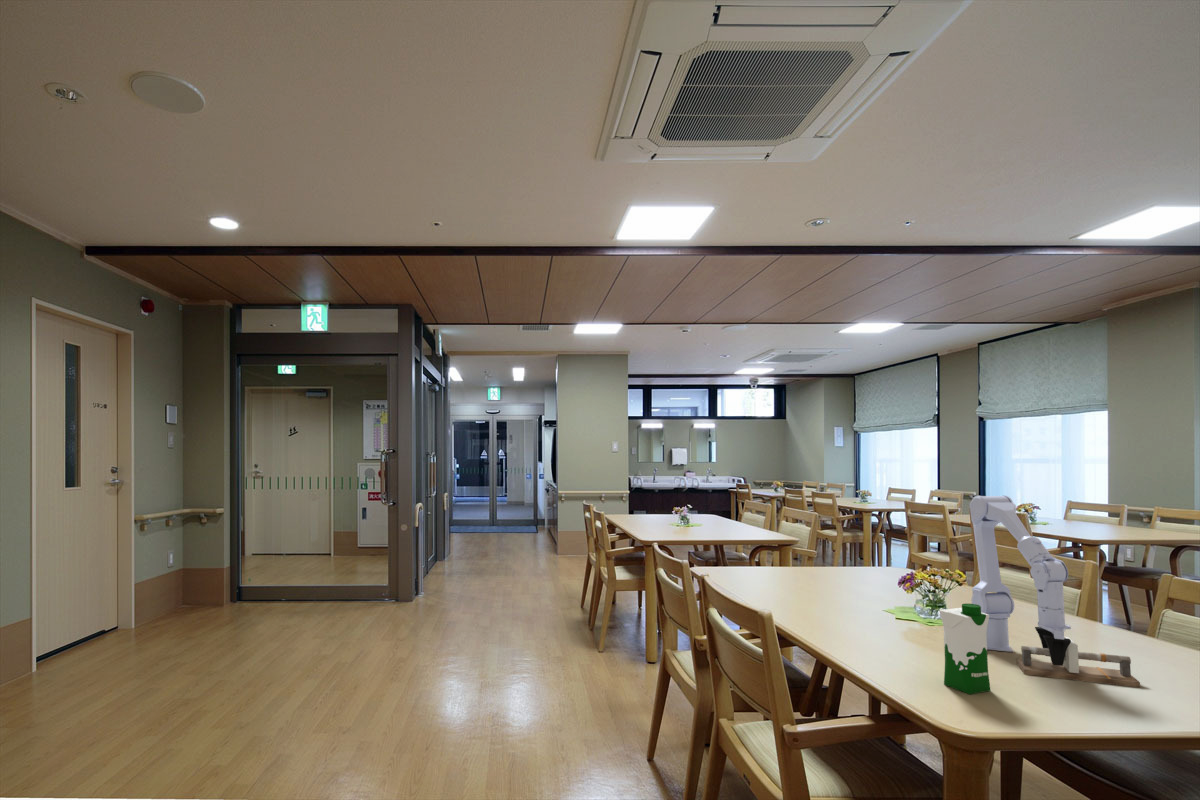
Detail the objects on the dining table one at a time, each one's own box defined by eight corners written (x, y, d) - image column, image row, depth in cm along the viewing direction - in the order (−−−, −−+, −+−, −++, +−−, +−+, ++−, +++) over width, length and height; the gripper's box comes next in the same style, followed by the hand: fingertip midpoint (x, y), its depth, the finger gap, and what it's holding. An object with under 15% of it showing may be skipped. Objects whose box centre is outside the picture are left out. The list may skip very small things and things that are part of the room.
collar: (1069, 672, 163) (1068, 644, 164) (1060, 662, 171) (1059, 636, 171) (1079, 673, 163) (1077, 645, 163) (1069, 663, 170) (1068, 637, 171)
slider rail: (1024, 674, 167) (1023, 650, 167) (1016, 663, 175) (1015, 640, 175) (1140, 687, 157) (1138, 662, 158) (1126, 675, 166) (1125, 651, 166)
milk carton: (970, 696, 151) (966, 609, 153) (937, 683, 160) (934, 600, 161) (996, 691, 155) (993, 606, 156) (963, 679, 163) (960, 598, 164)
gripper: (1077, 615, 161) (1080, 671, 160) (1061, 602, 174) (1064, 654, 173) (1043, 612, 164) (1046, 667, 163) (1030, 600, 177) (1033, 651, 176)
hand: (1053, 660), depth 168 cm, fingers open, 7 cm apart
